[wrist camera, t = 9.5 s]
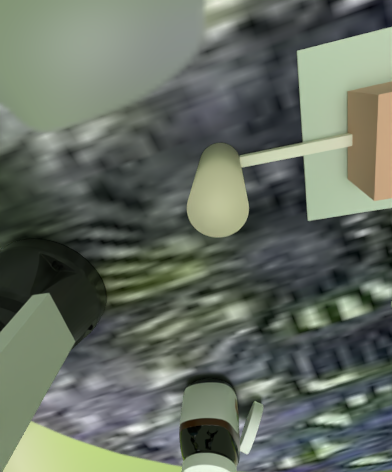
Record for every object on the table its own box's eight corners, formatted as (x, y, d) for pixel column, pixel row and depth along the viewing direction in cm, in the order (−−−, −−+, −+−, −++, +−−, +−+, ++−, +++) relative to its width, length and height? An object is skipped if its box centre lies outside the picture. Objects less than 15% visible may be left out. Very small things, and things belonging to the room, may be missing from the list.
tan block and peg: (208, 204, 32) (200, 265, 22) (191, 126, 29) (172, 155, 18) (437, 163, 29) (563, 213, 18) (450, 68, 25) (615, 61, 14)
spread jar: (179, 373, 46) (166, 459, 36) (254, 365, 44) (263, 453, 34) (199, 421, 51) (192, 508, 41) (267, 416, 49) (278, 506, 39)
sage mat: (307, 220, 33) (307, 220, 33) (296, 51, 26) (297, 50, 26) (452, 196, 30) (454, 197, 30) (483, 3, 23) (485, 3, 23)
